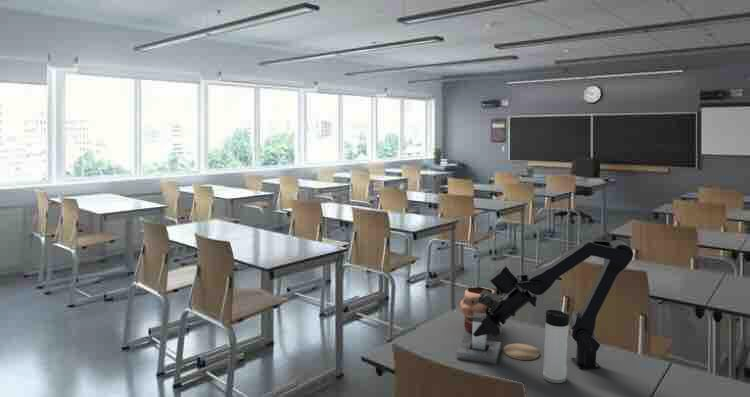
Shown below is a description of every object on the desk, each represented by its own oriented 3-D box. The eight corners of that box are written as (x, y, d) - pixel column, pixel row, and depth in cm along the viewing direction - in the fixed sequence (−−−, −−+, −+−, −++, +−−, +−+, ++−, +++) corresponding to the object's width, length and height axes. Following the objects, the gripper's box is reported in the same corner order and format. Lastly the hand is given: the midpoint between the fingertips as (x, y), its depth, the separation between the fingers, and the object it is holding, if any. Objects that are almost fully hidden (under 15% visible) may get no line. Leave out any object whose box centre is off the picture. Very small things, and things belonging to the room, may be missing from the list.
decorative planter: (477, 315, 204) (478, 279, 202) (508, 322, 196) (509, 285, 194) (451, 331, 188) (452, 293, 186) (483, 340, 181) (484, 300, 178)
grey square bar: (486, 351, 172) (487, 313, 170) (484, 356, 168) (485, 318, 167) (473, 349, 174) (474, 312, 172) (471, 354, 170) (472, 316, 168)
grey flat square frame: (500, 348, 174) (501, 342, 174) (495, 364, 163) (496, 357, 163) (463, 343, 179) (464, 337, 178) (456, 358, 167) (456, 352, 167)
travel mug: (537, 375, 156) (540, 309, 153) (556, 371, 158) (559, 306, 155) (551, 385, 150) (554, 316, 147) (570, 381, 153) (574, 313, 150)
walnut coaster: (544, 359, 166) (545, 357, 166) (509, 360, 166) (509, 358, 165) (532, 344, 177) (532, 342, 177) (499, 345, 176) (499, 343, 176)
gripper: (497, 275, 175) (463, 303, 180) (489, 292, 157) (451, 323, 163) (522, 301, 173) (486, 329, 179) (516, 321, 156) (477, 352, 161)
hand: (475, 332), depth 170 cm, fingers closed on grey square bar, 4 cm apart
